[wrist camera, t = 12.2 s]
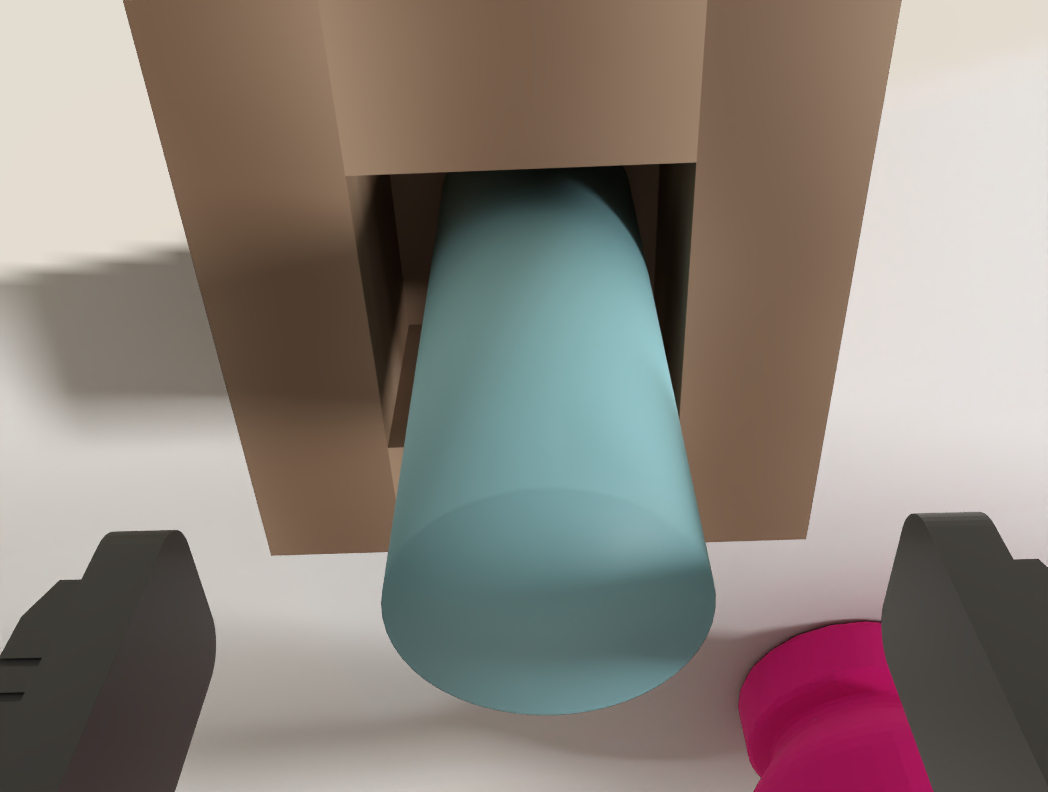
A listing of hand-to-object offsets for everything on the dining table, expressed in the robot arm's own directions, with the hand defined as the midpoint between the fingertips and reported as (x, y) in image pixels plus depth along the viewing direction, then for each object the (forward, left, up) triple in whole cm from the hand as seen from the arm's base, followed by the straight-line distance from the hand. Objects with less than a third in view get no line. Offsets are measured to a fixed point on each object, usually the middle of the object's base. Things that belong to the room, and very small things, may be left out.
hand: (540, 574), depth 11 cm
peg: (0, 0, -9) cm, 9 cm away
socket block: (0, 0, -10) cm, 10 cm away
